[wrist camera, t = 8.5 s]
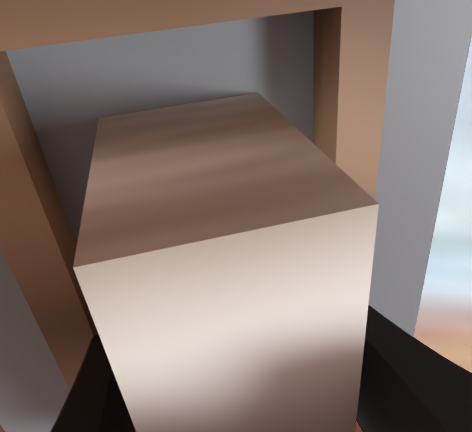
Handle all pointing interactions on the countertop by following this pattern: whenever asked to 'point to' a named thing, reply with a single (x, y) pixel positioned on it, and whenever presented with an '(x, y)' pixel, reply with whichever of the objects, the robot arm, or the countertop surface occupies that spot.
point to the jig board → (197, 90)
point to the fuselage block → (226, 269)
